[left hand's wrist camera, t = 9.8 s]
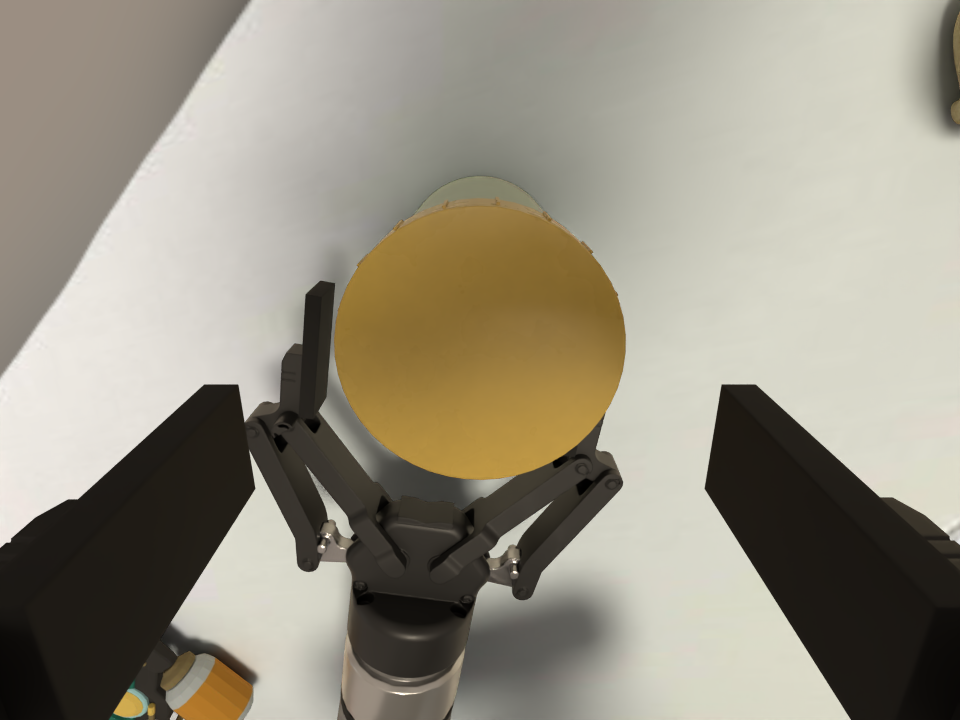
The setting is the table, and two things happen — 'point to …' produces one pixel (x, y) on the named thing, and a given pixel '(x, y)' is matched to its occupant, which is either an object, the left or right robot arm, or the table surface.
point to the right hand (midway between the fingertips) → (458, 309)
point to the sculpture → (959, 47)
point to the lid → (480, 340)
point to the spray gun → (185, 689)
